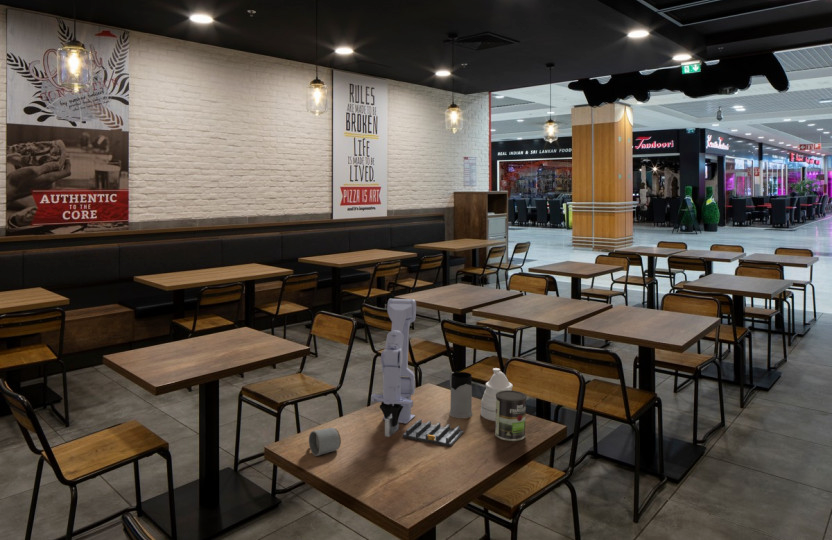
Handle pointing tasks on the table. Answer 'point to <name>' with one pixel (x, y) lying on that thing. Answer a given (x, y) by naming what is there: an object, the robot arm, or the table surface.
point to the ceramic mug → (324, 441)
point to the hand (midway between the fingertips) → (391, 424)
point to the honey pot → (493, 394)
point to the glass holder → (461, 394)
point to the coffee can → (510, 415)
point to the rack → (433, 433)
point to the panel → (390, 426)
